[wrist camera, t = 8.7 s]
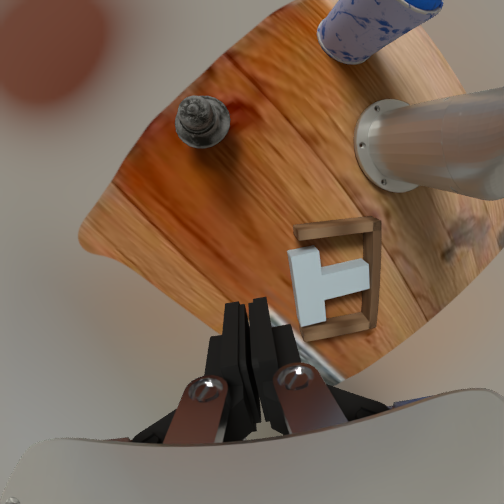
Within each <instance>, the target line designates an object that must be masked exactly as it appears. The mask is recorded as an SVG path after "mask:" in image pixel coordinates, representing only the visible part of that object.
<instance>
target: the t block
mask: <svg viewBox="0 0 504 504" xmlns="http://www.w3.org/2000/svg"><path fill="white" fill-rule="evenodd" d="M287 253H288V259H289V265H290V272H291V278H292V285H293V291H294V298H295V305H296V311H297V318H298V320H299V323H300V326H301V327H303V326H307V325H311V324H315V323H319V322H323V321H326V313H325V302H324V300H327V299H331V298H335V297H339V296H343V295H347V294H351V293H355V292H358V291H362V290H366V289H370V284H369V264H368V263H366V262H365V261H364V260H363V259H362V258H360V259H356V260H352V261H347V262H343V263H339V264H334V265H330V266H325V267H321V264H320V255H319V250H318V249H317V248H316V247H315V246H314V245H312V246H307V247H302V248H298V249H293V250H288V251H287Z"/></svg>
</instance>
